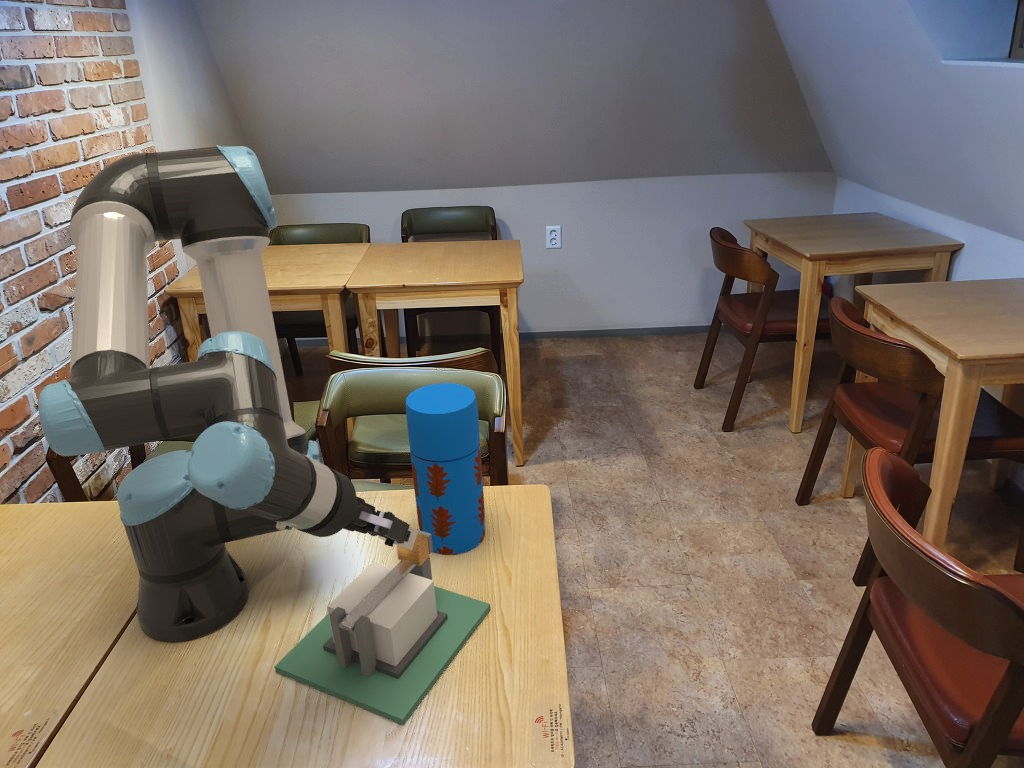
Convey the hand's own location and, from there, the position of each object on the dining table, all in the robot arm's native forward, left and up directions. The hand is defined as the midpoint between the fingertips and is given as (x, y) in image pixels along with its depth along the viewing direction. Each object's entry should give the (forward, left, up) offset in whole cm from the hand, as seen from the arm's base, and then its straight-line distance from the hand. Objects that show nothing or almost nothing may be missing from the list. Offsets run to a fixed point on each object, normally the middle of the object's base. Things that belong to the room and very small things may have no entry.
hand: (410, 539), depth 105 cm
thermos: (-5, +17, -12) cm, 22 cm away
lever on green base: (-1, -7, -12) cm, 14 cm away
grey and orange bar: (-1, -6, -4) cm, 7 cm away
